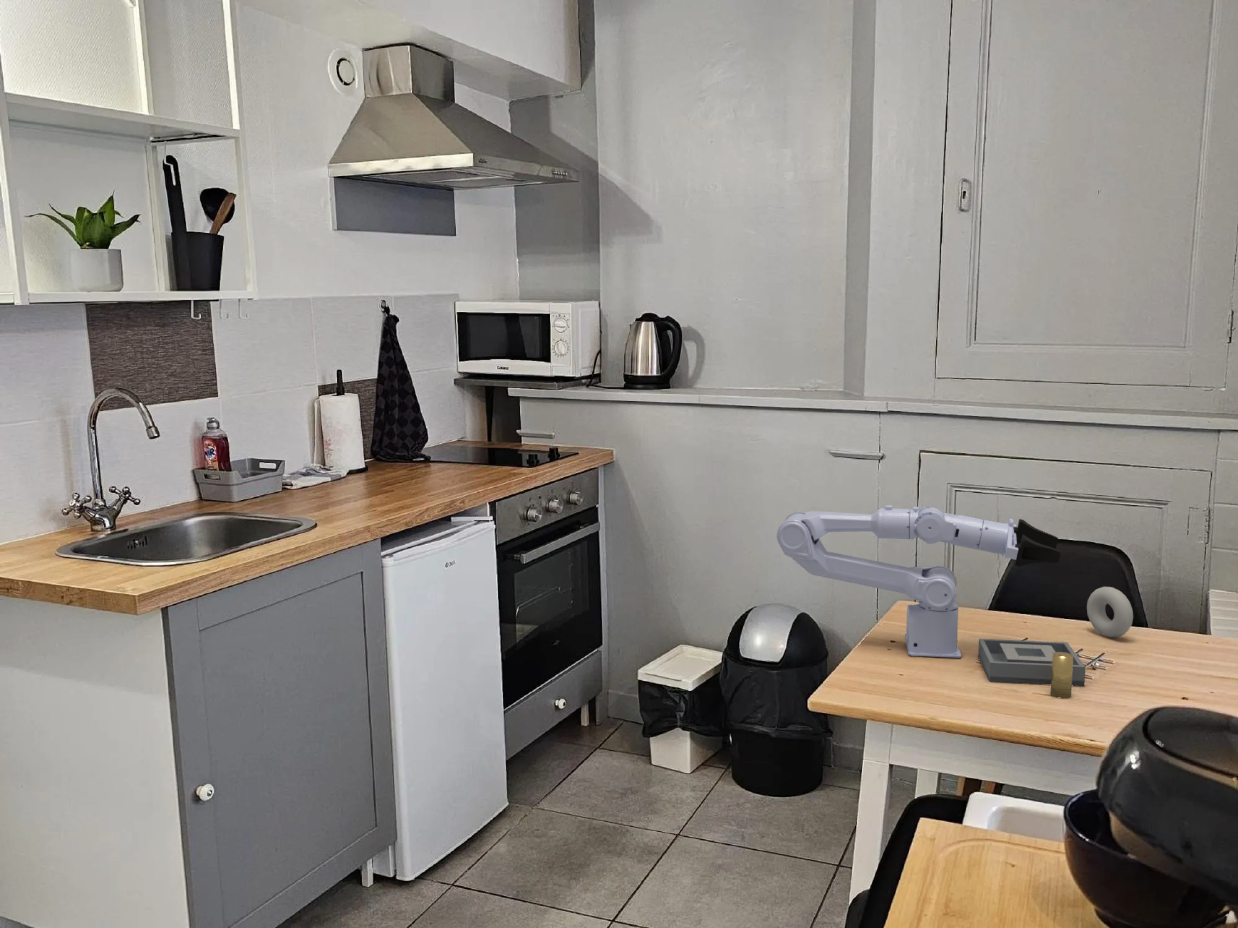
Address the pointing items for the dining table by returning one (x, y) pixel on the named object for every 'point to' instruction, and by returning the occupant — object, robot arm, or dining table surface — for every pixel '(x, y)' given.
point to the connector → (1061, 674)
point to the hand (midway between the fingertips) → (1058, 549)
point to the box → (1024, 664)
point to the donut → (1119, 606)
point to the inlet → (1026, 653)
